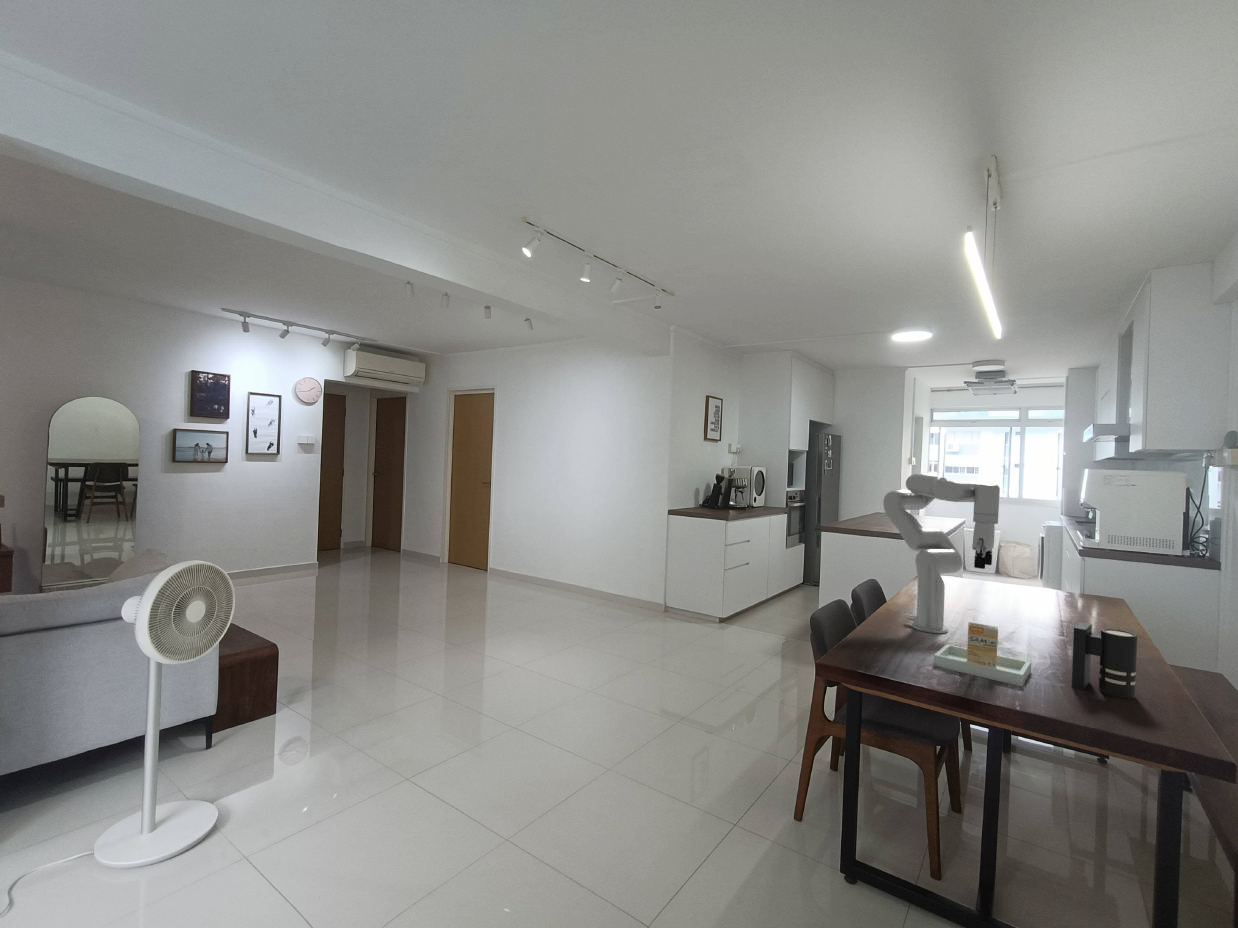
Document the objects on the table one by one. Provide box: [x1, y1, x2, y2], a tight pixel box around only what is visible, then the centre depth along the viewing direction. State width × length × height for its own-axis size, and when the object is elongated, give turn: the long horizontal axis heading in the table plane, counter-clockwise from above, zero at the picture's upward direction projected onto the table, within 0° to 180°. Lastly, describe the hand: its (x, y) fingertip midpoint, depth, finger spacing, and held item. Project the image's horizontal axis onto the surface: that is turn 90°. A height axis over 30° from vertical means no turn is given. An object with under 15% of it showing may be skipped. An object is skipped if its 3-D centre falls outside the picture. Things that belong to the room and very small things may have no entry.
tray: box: [933, 643, 1032, 687], centre depth 189 cm, size 24×16×4 cm, turn 47°
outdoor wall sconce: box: [1071, 621, 1138, 700], centre depth 173 cm, size 10×14×18 cm
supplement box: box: [966, 621, 999, 668], centre depth 189 cm, size 8×5×13 cm, turn 58°
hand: (983, 566), depth 209 cm, fingers open, 9 cm apart
